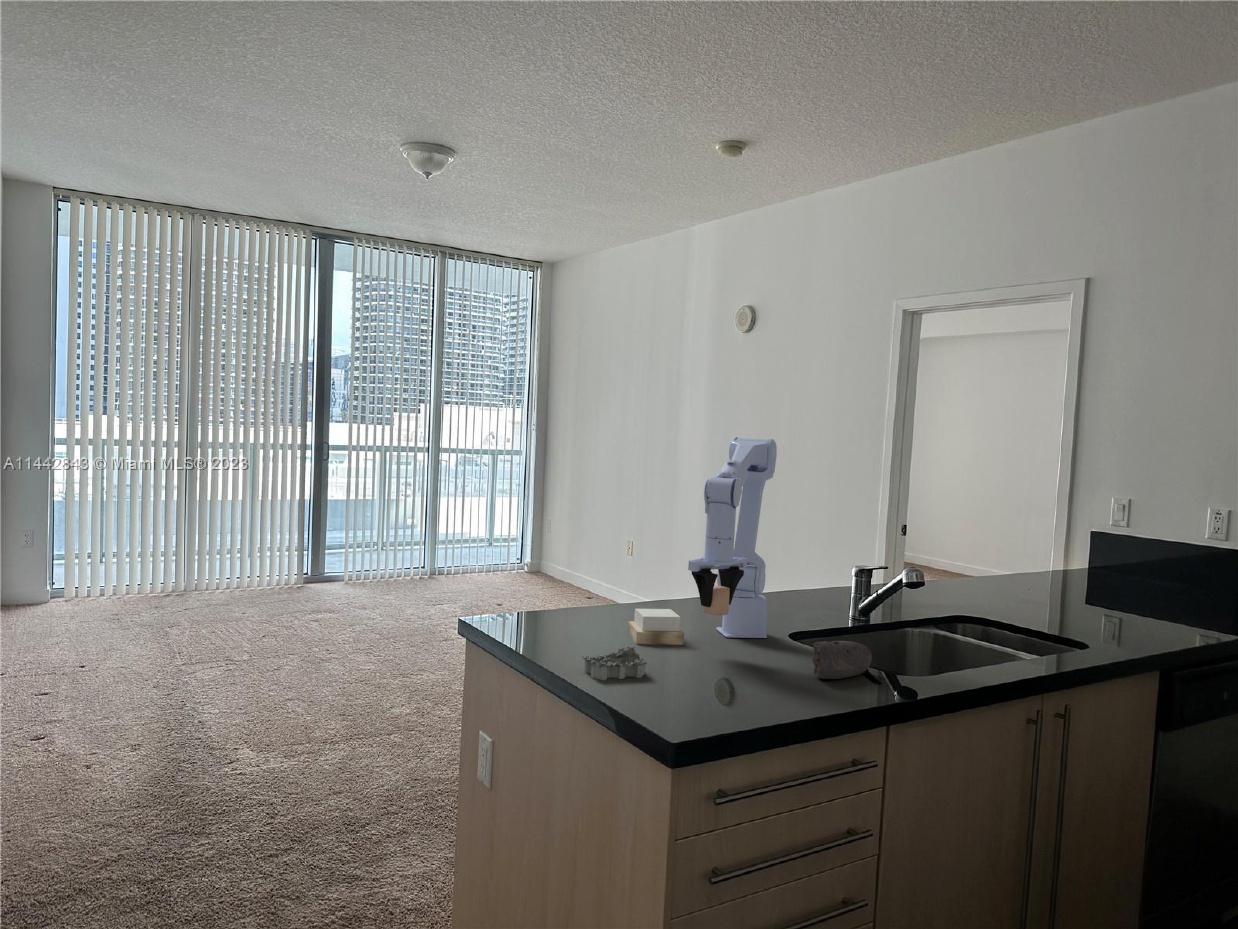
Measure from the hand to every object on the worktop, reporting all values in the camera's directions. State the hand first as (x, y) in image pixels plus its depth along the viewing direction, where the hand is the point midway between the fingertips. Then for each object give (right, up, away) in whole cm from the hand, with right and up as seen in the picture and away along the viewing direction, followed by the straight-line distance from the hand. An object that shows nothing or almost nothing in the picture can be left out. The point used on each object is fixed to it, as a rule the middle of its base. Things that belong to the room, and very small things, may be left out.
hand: (716, 605), depth 165 cm
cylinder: (0, -2, 0) cm, 2 cm away
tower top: (-11, -7, +11) cm, 17 cm away
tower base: (-12, -10, +11) cm, 19 cm away
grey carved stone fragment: (-20, -10, -17) cm, 28 cm away
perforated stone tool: (+22, -12, -11) cm, 27 cm away
